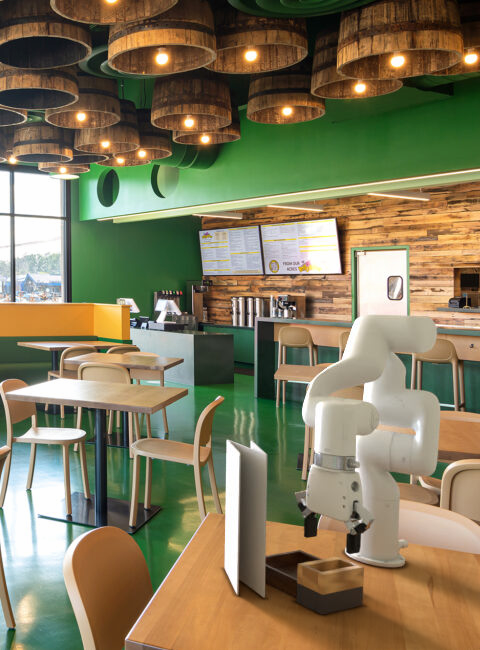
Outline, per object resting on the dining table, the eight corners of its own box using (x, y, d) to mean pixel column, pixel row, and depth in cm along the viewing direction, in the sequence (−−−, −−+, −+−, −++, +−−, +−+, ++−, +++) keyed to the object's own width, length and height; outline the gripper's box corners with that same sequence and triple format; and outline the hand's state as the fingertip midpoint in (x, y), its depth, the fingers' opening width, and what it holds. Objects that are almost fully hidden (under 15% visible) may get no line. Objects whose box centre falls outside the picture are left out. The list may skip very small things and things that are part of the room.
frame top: (336, 574, 142) (337, 556, 142) (363, 586, 137) (364, 566, 137) (296, 582, 138) (297, 563, 138) (322, 594, 132) (323, 574, 132)
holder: (299, 564, 158) (299, 549, 158) (348, 586, 146) (348, 569, 146) (248, 574, 152) (249, 558, 152) (296, 597, 140) (296, 580, 140)
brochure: (264, 597, 139) (267, 454, 138) (237, 594, 140) (239, 453, 140) (249, 570, 153) (252, 440, 152) (224, 568, 154) (226, 439, 153)
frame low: (336, 593, 142) (336, 574, 142) (362, 605, 137) (363, 586, 137) (296, 602, 138) (296, 582, 138) (321, 614, 132) (322, 594, 132)
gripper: (387, 470, 130) (383, 557, 130) (310, 452, 146) (307, 529, 146) (361, 472, 127) (357, 562, 127) (286, 453, 143) (282, 532, 143)
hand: (330, 544), depth 137 cm, fingers open, 9 cm apart
